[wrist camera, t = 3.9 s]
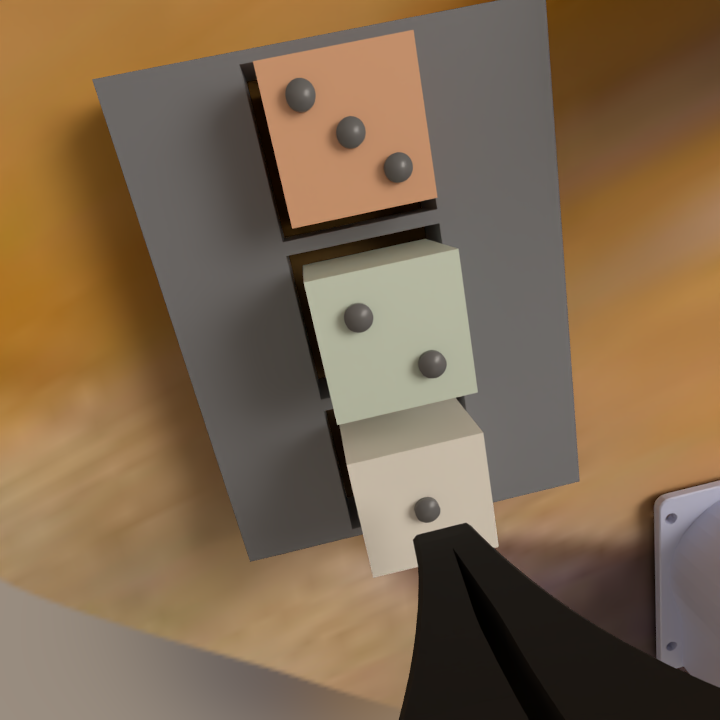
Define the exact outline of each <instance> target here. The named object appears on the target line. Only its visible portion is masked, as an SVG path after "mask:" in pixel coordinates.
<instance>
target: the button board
mask: <svg viewBox="0 0 720 720" xmlns="http://www.w3.org/2000/svg"><path fill="white" fill-rule="evenodd" d="M409 30H414V37H415V44H416V51H417V58H418V65H419V72H420V79H421V86H422V93H423V100H424V107H425V114H426V121H427V128H428V135H429V142H430V149H431V155H432V162H433V169H434V176H435V183H436V190H437V197H438V198H433V199H429V200H424V201H421V207H422V208H421V209H416V210H411V211H407V212H402V213H397V214H393V215H388V216H383V217H379V218H374V219H369V220H365V221H360V222H355V223H351V224H346V225H341V226H337V227H332V228H327V229H323V230H318V231H313V232H308V233H304V234H299V235H294V236H290V237H285V238H284V234H283V229H282V225H281V221H280V217H279V213H278V209H277V205H276V200H275V196H274V192H273V188H272V184H271V180H270V176H269V171H268V167H267V163H266V159H265V155H264V151H263V147H262V142H261V138H260V134H259V130H258V126H257V122H256V117H255V113H254V109H253V105H252V101H251V97H250V93H249V88H248V84H247V81H252V80H257V76H256V72H255V68H254V64H253V61H257V60H262V59H267V58H272V57H277V56H282V55H287V54H292V53H297V52H302V51H308V50H313V49H318V48H323V47H328V46H333V45H338V44H343V43H348V42H353V41H358V40H364V39H369V38H374V37H379V36H384V35H389V34H394V33H399V32H404V31H409ZM92 80H93V83H94V86H95V89H96V92H97V95H98V98H99V101H100V104H101V107H102V110H103V114H104V117H105V120H106V123H107V126H108V129H109V132H110V135H111V138H112V141H113V144H114V147H115V150H116V153H117V156H118V159H119V162H120V165H121V168H122V172H123V175H124V178H125V181H126V184H127V187H128V190H129V193H130V196H131V199H132V202H133V205H134V208H135V211H136V214H137V217H138V220H139V223H140V227H141V230H142V233H143V236H144V239H145V242H146V245H147V248H148V251H149V254H150V257H151V260H152V263H153V266H154V269H155V272H156V275H157V278H158V281H159V285H160V288H161V291H162V294H163V297H164V300H165V303H166V306H167V309H168V312H169V315H170V318H171V321H172V324H173V327H174V330H175V333H176V336H177V339H178V343H179V346H180V349H181V352H182V355H183V358H184V361H185V364H186V367H187V370H188V373H189V376H190V379H191V382H192V385H193V388H194V391H195V394H196V398H197V401H198V404H199V407H200V410H201V413H202V416H203V419H204V422H205V425H206V428H207V431H208V434H209V437H210V440H211V443H212V446H213V449H214V452H215V456H216V459H217V462H218V465H219V468H220V471H221V474H222V477H223V480H224V483H225V486H226V489H227V492H228V495H229V498H230V501H231V504H232V507H233V511H234V514H235V517H236V520H237V523H238V526H239V529H240V532H241V535H242V538H243V541H244V544H245V547H246V550H247V553H248V556H249V559H250V562H251V561H255V560H259V559H264V558H268V557H272V556H276V555H280V554H284V553H288V552H292V551H296V550H300V549H304V548H309V547H313V546H317V545H321V544H325V543H329V542H333V541H337V540H341V539H345V538H349V537H354V536H358V535H362V534H363V532H362V528H361V524H360V519H359V515H358V511H357V507H356V502H355V498H354V496H352V497H348V498H347V495H346V491H345V487H344V482H343V478H342V474H341V470H340V466H339V462H338V458H337V453H336V449H335V445H334V441H333V437H332V433H331V429H330V424H329V420H328V416H327V412H326V410H330V409H333V405H332V401H331V396H330V392H329V388H328V384H327V379H326V377H325V378H320V379H318V375H317V370H316V366H315V362H314V358H313V354H312V350H311V346H310V341H309V337H308V333H307V329H306V325H305V321H304V317H303V312H302V308H301V304H300V300H299V296H298V292H297V288H296V283H295V279H294V275H293V271H292V267H291V263H290V259H289V255H294V254H299V253H303V252H308V251H313V250H317V249H322V248H327V247H331V246H336V245H340V244H345V243H350V242H354V241H359V240H364V239H368V238H373V237H378V236H382V235H387V234H391V233H396V232H401V231H405V230H410V229H415V228H419V227H425V233H426V239H428V240H431V241H434V242H438V243H441V244H444V245H448V246H451V247H454V248H458V249H459V256H460V263H461V271H462V278H463V286H464V293H465V300H466V308H467V315H468V323H469V330H470V337H471V345H472V352H473V360H474V367H475V374H476V382H477V389H478V393H473V394H469V395H465V396H460V397H456V399H457V400H458V401H459V403H460V404H461V405H462V406H463V408H464V409H465V410H466V411H467V413H468V414H469V415H470V417H471V418H472V419H473V420H474V422H475V423H476V424H477V425H478V427H479V428H480V429H481V430H482V432H483V434H484V441H485V449H486V456H487V463H488V471H489V478H490V486H491V493H492V500H493V502H497V501H501V500H505V499H509V498H513V497H517V496H521V495H526V494H530V493H534V492H538V491H542V490H546V489H550V488H554V487H558V486H562V485H566V484H571V483H575V482H579V467H578V453H577V439H576V424H575V410H574V396H573V382H572V367H571V353H570V339H569V325H568V310H567V296H566V282H565V268H564V253H563V239H562V225H561V211H560V196H559V182H558V168H557V154H556V139H555V125H554V111H553V97H552V82H551V68H550V54H549V40H548V25H547V11H546V0H498V1H493V2H487V3H482V4H477V5H472V6H467V7H462V8H457V9H452V10H446V11H441V12H436V13H431V14H426V15H421V16H416V17H410V18H405V19H400V20H395V21H390V22H385V23H380V24H375V25H369V26H364V27H359V28H354V29H349V30H344V31H339V32H334V33H328V34H323V35H318V36H313V37H308V38H303V39H298V40H292V41H287V42H282V43H277V44H272V45H267V46H262V47H257V48H251V49H246V50H241V51H236V52H231V53H226V54H221V55H216V56H210V57H205V58H200V59H195V60H190V61H185V62H180V63H174V64H169V65H164V66H159V67H154V68H149V69H144V70H139V71H133V72H128V73H123V74H118V75H113V76H108V77H103V78H98V79H92Z"/></svg>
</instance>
